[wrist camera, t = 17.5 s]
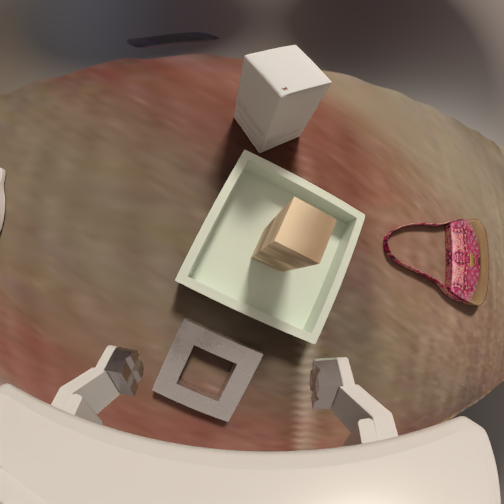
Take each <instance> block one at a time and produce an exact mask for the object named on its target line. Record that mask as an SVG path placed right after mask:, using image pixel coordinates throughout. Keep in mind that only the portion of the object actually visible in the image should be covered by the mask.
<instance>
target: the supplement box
mask: <svg viewBox="0 0 504 504" xmlns="http://www.w3.org/2000/svg"><path fill="white" fill-rule="evenodd" d="M331 83H332V82H331V81H330V80H329V78H328V77H327V76H326V75H325V74H324V73H323V72H322V71H321V70H320V69H319V68H318V67H317V66H316V65H315V64H314V63H313V62H312V61H311V60H310V59H309V58H308V57H307V56H306V55H305V54H304V53H303V52H302V51H301V50H300V49H299V48H298V47H297V46H296V45H292V46H286V47H280V48H276V49H271V50H266V51H262V52H257V53H253V54H248V55H245V56H244V61H243V66H242V72H241V77H240V83H239V89H238V95H237V101H236V107H235V113H234V118H235V120H236V121H237V122H238V124H239V125H240V127H241V128H242V130H243V131H244V132H245V134H246V135H247V137H248V138H249V139H250V141H251V142H252V144H253V145H254V147H255V148H256V150H257V151H258V153H262V152H264V151H266V150H268V149H271V148H273V147H276V146H278V145H280V144H282V143H285V142H287V141H290V140H292V139H294V138H297V137H299V136H300V135H301V133H302V132H303V130H304V128H305V127H306V125H307V123H308V121H309V120H310V118H311V116H312V115H313V113H314V111H315V110H316V108H317V106H318V105H319V103H320V101H321V100H322V98H323V96H324V95H325V93H326V91H327V90H328V88H329V86H330V85H331Z"/></svg>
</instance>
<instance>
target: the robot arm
mask: <svg viewBox="0 0 504 504" xmlns="http://www.w3.org/2000/svg"><path fill="white" fill-rule="evenodd" d="M4 181H5V170H4V169H3V168H0V232H1V228H2V224H3V220H4V213H5V194H4ZM138 356H139V354H138V352H137V350H133V349H127V348H122V347H117V346H112V345H109V346H107V348H106V349H105V351H104V353H103V355H102V356H101V358H100V360H99V362H98V363H97V365H96V367H95V368H91V369H90V370H88V371H86V372H85V373H83V374H82V375H80V376H78V377H77V378H75V379H73V380H72V381H70V382H69V383H67V384H65V385H64V386H62V387H61V388H60V389H59V391H58V393H57V395H56V396H55V398H54V400H53V402H52V404H51V405H50V404H48V403H46V402H43V401H41V400H39V399H37V398H35V397H33V396H31V395H30V394H28V393H26V392H24V391H22V390H20V389H18V388H17V387H15V386H13V385H11V384H9V383H6V384H3V385H1V386H0V504H501V500H500V489H499V479H498V473H497V468H496V463H495V459H494V455H493V451H492V447H491V444H490V441H489V438H488V436H487V434H486V431H485V430H484V429H483V428H482V427H481V426H479V425H478V424H476V423H475V422H473V421H472V420H470V419H468V418H466V417H464V416H460V417H457V418H454V419H451V420H448V421H446V422H443V423H440V424H437V425H434V426H431V427H428V428H425V429H422V430H418V431H415V432H411V433H408V434H404V435H400V436H398V434H397V431H396V427H395V423H394V420H393V416H392V413H391V412H389V411H388V410H387V409H386V408H385V407H383V406H382V405H381V404H380V403H379V402H378V401H376V400H375V399H374V398H373V397H372V396H371V395H369V394H368V393H367V392H366V391H365V390H364V389H363V388H361V387H360V386H359V385H355V383H354V379H353V375H352V372H351V368H350V364H349V361H348V358H347V357H340V358H323V359H314V360H313V364H312V366H313V369H312V370H311V373H310V390H311V391H312V392H313V393H312V397H311V399H312V407H313V409H327V408H331V410H332V411H333V412H334V413H335V415H336V416H337V417H338V418H339V419H340V420H341V422H342V423H343V424H344V425H345V426H346V427H347V429H348V430H349V431H350V432H351V434H350V435H349V437H348V438H347V440H346V441H345V443H344V447H336V448H328V449H317V450H304V451H278V452H263V451H236V450H223V449H212V448H204V447H196V446H189V445H182V444H176V443H171V442H166V441H161V440H156V439H151V438H147V437H143V436H139V435H135V434H131V433H127V432H123V431H120V430H116V429H113V428H110V427H107V426H104V425H102V420H101V419H100V418H99V417H98V416H97V414H98V413H99V412H100V411H101V410H102V409H103V408H105V407H106V406H107V405H108V404H109V403H110V402H112V401H113V400H114V399H115V398H116V397H117V396H118V395H120V393H121V394H126V395H131V396H135V394H136V391H137V389H138V383H137V382H138V381H139V380H141V379H142V376H143V371H144V367H143V363H142V361H141V360H140V359H139V358H138Z"/></svg>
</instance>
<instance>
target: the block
mask: <svg viewBox="0 0 504 504" xmlns="http://www.w3.org/2000/svg"><path fill="white" fill-rule="evenodd" d="M336 220H337V219H335V218H333V217H331V216H329V215H328V214H326V213H324V212H322V211H320V210H319V209H317V208H315V207H313V206H311V205H309V204H308V203H306V202H304V201H302V200H300V199H298V198H296V197H293V198H292V199H291V201H290V202H289V203H288V204H287V205H286V206H285V207H284V208H283V209H282V210H281V211H280V212H279V213H278V215H277V216H276V217H275V218H274V219H273V220H272V221H271V222H270V223H269V224H268V225H267V226H266V227H265V229H264V231H263V233H262V236H261V238H260V240H259V242H258V244H257V246H256V248H255V250H254V253H253V255H252V257H251V258H253V259H255V260H257V261H259V262H261V263H263V264H265V265H267V266H269V267H272V268H274V269H276V270H278V271H280V272H284V271H289V270H293V269H298V268H303V267H307V266H312V265H316V264H320V262H321V259H322V257H323V254H324V252H325V249H326V247H327V244H328V241H329V239H330V236H331V234H332V231H333V228H334V226H335V223H336Z"/></svg>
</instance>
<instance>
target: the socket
mask: <svg viewBox="0 0 504 504" xmlns="http://www.w3.org/2000/svg"><path fill="white" fill-rule="evenodd" d="M194 345H195V346H197V347H199V348H201V349H204V350H206V351H208V352H210V353H212V354H215V355H217V356H219V357H222V358H224V359H226V360H229V361H231V362H233V363H234V364H233V366H232V368H231V370H230V372H229V374H228V376H227V378H226V380H225V382H224V384H223V386H222V388H221V390H220V392H219V394H218V395H216V394H213V393H211V392H208V391H206V390H204V389H201V388H199V387H197V386H194V385H192V384H190V383H187V382H185V381H183V380H181V379H179V376H180V374H181V372H182V370H183V368H184V366H185V364H186V361H187V359H188V357H189V355H190V353H191V351H192V349H193V346H194ZM262 356H263V353H262V352H261V351H260V350H258V349H256V348H253V347H251V346H248V345H246V344H244V343H241V342H239V341H237V340H235V339H232V338H230V337H228V336H226V335H223V334H221V333H219V332H217V331H215V330H212V329H210V328H208V327H206V326H204V325H202V324H200V323H198V322H196V321H194V320H191V319H189V318H187V317H185V318H184V319H183V322H182V324H181V326H180V328H179V330H178V332H177V335H176V337H175V339H174V341H173V343H172V346H171V348H170V350H169V352H168V354H167V357H166V359H165V361H164V363H163V366H162V368H161V370H160V373H159V375H158V377H157V379H156V382H155V384H154V386H153V389H152V390H153V391H155V392H157V393H159V394H161V395H163V396H165V397H167V398H169V399H172V400H174V401H176V402H178V403H181V404H183V405H185V406H187V407H190V408H192V409H195V410H197V411H200V412H202V413H205V414H207V415H210V416H213V417H215V418H218V419H221V420H224V421H227V422H229V420H230V418H231V416H232V414H233V412H234V411H235V409H236V407H237V405H238V403H239V401H240V399H241V397H242V396H243V394H244V392H245V390H246V388H247V386H248V384H249V382H250V380H251V378H252V376H253V374H254V372H255V370H256V368H257V366H258V364H259V362H260V360H261V358H262Z"/></svg>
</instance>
